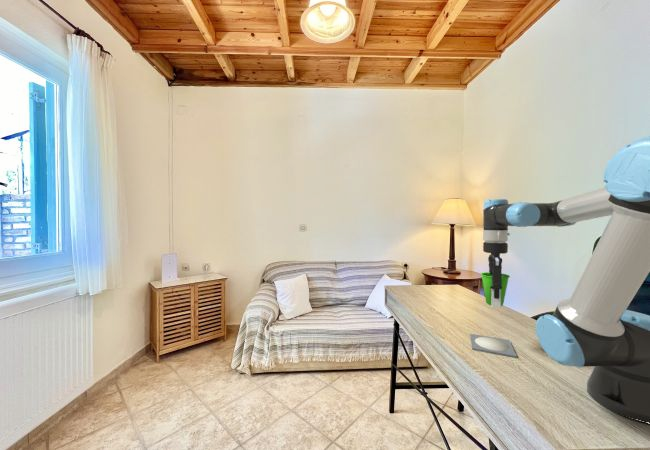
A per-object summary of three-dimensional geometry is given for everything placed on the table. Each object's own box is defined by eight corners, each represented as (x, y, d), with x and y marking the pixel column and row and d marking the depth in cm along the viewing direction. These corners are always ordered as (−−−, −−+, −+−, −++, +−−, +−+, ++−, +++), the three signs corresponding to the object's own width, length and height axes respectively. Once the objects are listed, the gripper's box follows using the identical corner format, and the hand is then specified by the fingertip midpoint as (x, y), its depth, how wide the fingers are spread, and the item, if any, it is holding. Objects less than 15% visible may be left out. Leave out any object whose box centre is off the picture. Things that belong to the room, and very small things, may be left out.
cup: (514, 309, 92) (514, 277, 91) (485, 307, 94) (485, 276, 93) (503, 301, 100) (503, 272, 100) (476, 300, 102) (477, 271, 102)
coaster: (516, 357, 88) (516, 355, 88) (472, 349, 94) (472, 347, 94) (509, 341, 100) (509, 339, 100) (469, 335, 105) (469, 333, 105)
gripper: (512, 244, 85) (511, 314, 86) (503, 240, 104) (502, 296, 105) (485, 243, 89) (484, 310, 89) (481, 239, 108) (480, 294, 108)
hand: (494, 303), depth 97 cm, fingers closed on cup, 9 cm apart
